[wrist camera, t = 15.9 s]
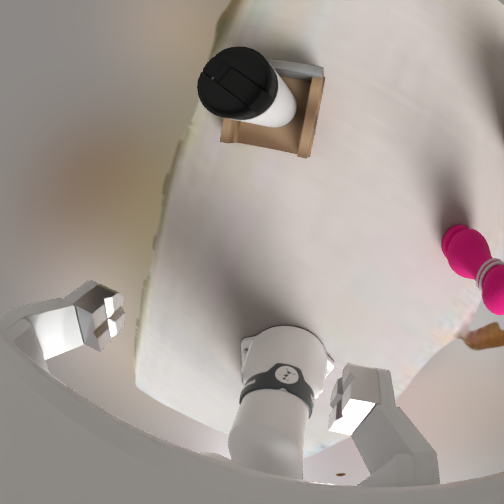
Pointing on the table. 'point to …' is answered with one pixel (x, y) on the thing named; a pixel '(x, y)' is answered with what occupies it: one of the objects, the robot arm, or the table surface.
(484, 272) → the pepper mill
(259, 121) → the travel mug
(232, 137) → the cradle
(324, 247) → the table surface
